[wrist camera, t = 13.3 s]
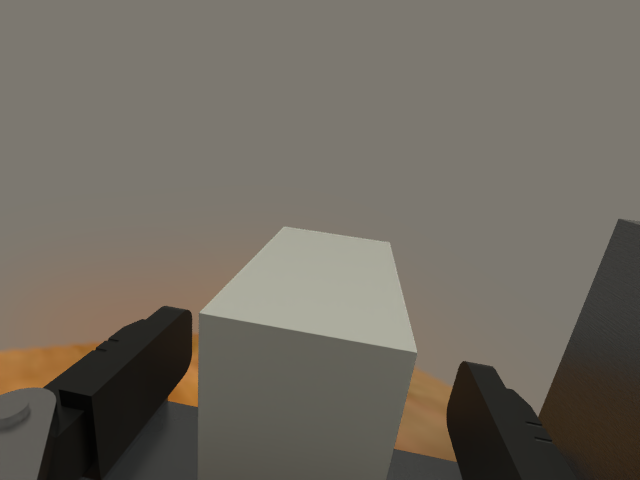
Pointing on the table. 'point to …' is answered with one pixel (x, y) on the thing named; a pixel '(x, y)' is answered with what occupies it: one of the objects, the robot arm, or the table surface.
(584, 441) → the rack
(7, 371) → the table surface
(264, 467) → the light grey block
